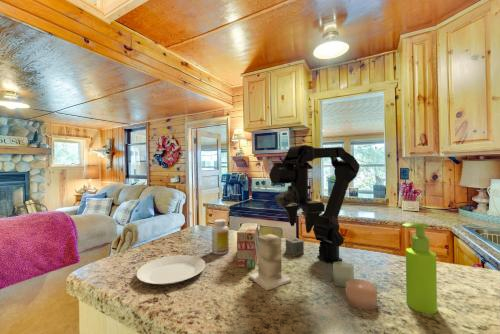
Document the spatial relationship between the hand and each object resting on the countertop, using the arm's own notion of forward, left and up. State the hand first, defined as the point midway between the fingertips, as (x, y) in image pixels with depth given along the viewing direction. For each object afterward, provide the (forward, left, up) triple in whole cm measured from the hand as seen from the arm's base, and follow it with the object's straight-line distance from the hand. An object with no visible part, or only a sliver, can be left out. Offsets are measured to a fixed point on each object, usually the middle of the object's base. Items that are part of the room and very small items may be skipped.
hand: (299, 229), depth 77 cm
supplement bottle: (+21, -25, -13) cm, 35 cm away
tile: (+13, +3, -13) cm, 19 cm away
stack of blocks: (+11, -17, -13) cm, 24 cm away
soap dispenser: (-14, +29, -13) cm, 35 cm away
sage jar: (-6, +13, -13) cm, 19 cm away
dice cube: (-6, -13, -13) cm, 19 cm away
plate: (+40, -13, -14) cm, 44 cm away
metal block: (+13, +3, -12) cm, 18 cm away
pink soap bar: (-3, +22, -13) cm, 26 cm away
